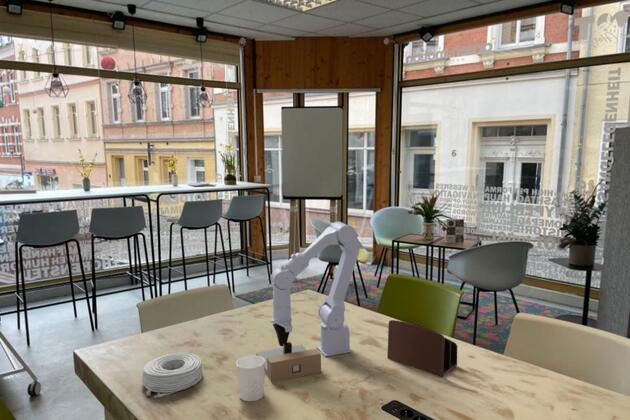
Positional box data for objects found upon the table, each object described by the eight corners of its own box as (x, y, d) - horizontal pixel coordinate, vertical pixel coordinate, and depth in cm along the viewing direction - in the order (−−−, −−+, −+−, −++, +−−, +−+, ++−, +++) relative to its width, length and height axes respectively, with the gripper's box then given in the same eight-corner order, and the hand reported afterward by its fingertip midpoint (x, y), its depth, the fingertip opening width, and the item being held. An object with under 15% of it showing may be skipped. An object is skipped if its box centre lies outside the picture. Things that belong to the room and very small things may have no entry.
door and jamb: (256, 356, 150) (256, 339, 150) (301, 348, 156) (301, 332, 155) (270, 382, 134) (270, 362, 133) (321, 372, 139) (320, 353, 139)
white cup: (260, 404, 122) (259, 369, 121) (233, 401, 124) (231, 366, 122) (269, 389, 130) (268, 356, 128) (243, 386, 131) (242, 354, 130)
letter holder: (442, 378, 135) (443, 333, 133) (386, 358, 148) (387, 317, 146) (457, 366, 142) (458, 323, 140) (403, 348, 156) (403, 309, 154)
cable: (148, 403, 124) (147, 382, 123) (136, 376, 139) (135, 358, 138) (210, 385, 133) (209, 365, 132) (193, 362, 148) (192, 344, 147)
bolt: (282, 358, 145) (282, 342, 145) (289, 356, 146) (289, 341, 146) (292, 371, 136) (292, 355, 136) (299, 370, 137) (299, 353, 136)
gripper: (264, 300, 152) (265, 338, 154) (276, 314, 139) (277, 356, 141) (284, 297, 155) (285, 335, 157) (298, 311, 141) (298, 352, 143)
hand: (282, 345), depth 149 cm, fingers closed
